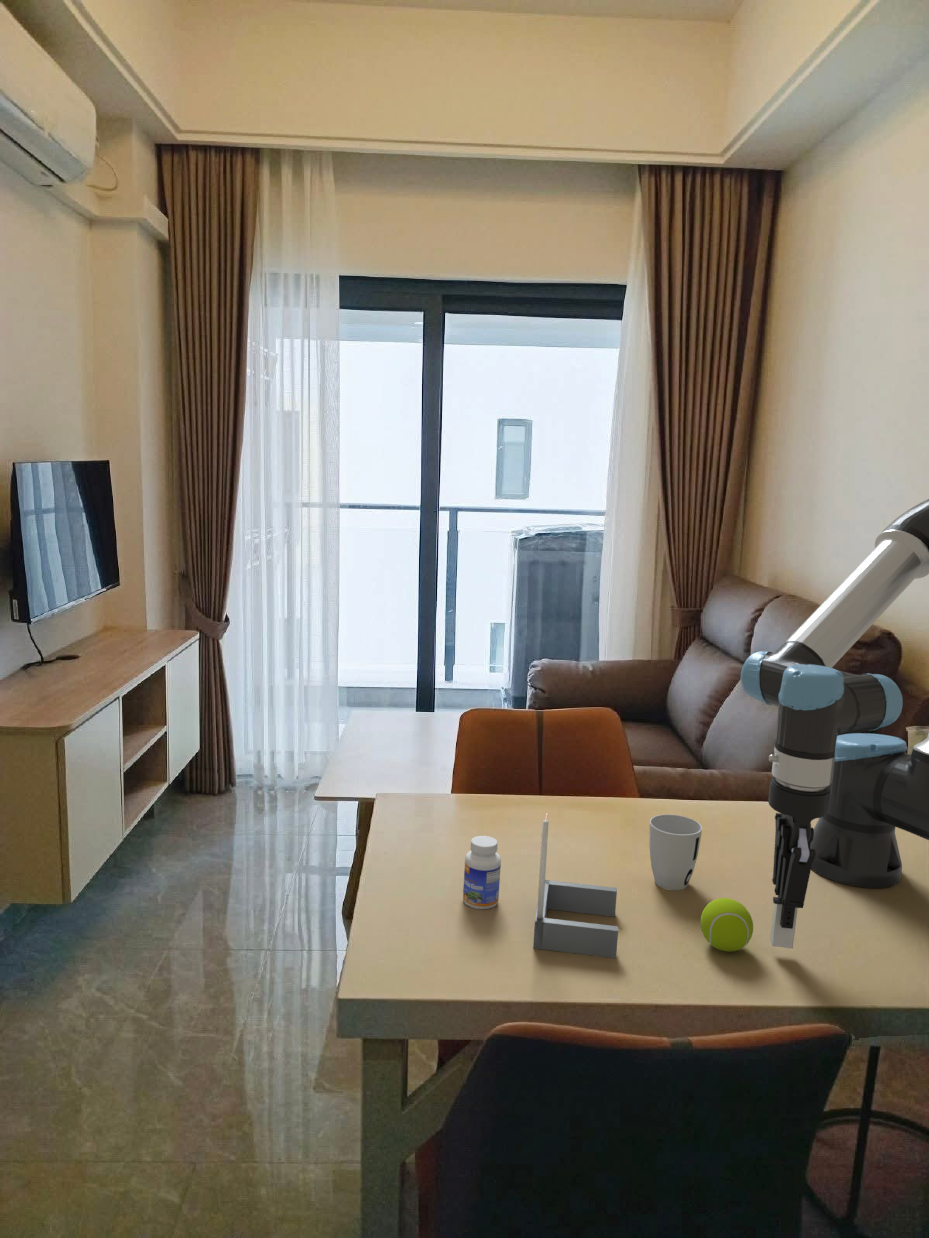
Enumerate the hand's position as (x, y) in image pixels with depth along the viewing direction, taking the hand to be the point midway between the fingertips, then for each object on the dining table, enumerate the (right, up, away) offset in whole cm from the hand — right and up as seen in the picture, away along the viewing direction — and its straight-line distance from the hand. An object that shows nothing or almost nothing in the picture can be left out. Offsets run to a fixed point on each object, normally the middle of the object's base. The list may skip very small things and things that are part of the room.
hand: (781, 944), depth 120 cm
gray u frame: (-27, 0, +4) cm, 28 cm away
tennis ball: (-7, -1, +2) cm, 8 cm away
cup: (-11, +2, +20) cm, 23 cm away
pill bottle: (-41, +2, +11) cm, 43 cm away
